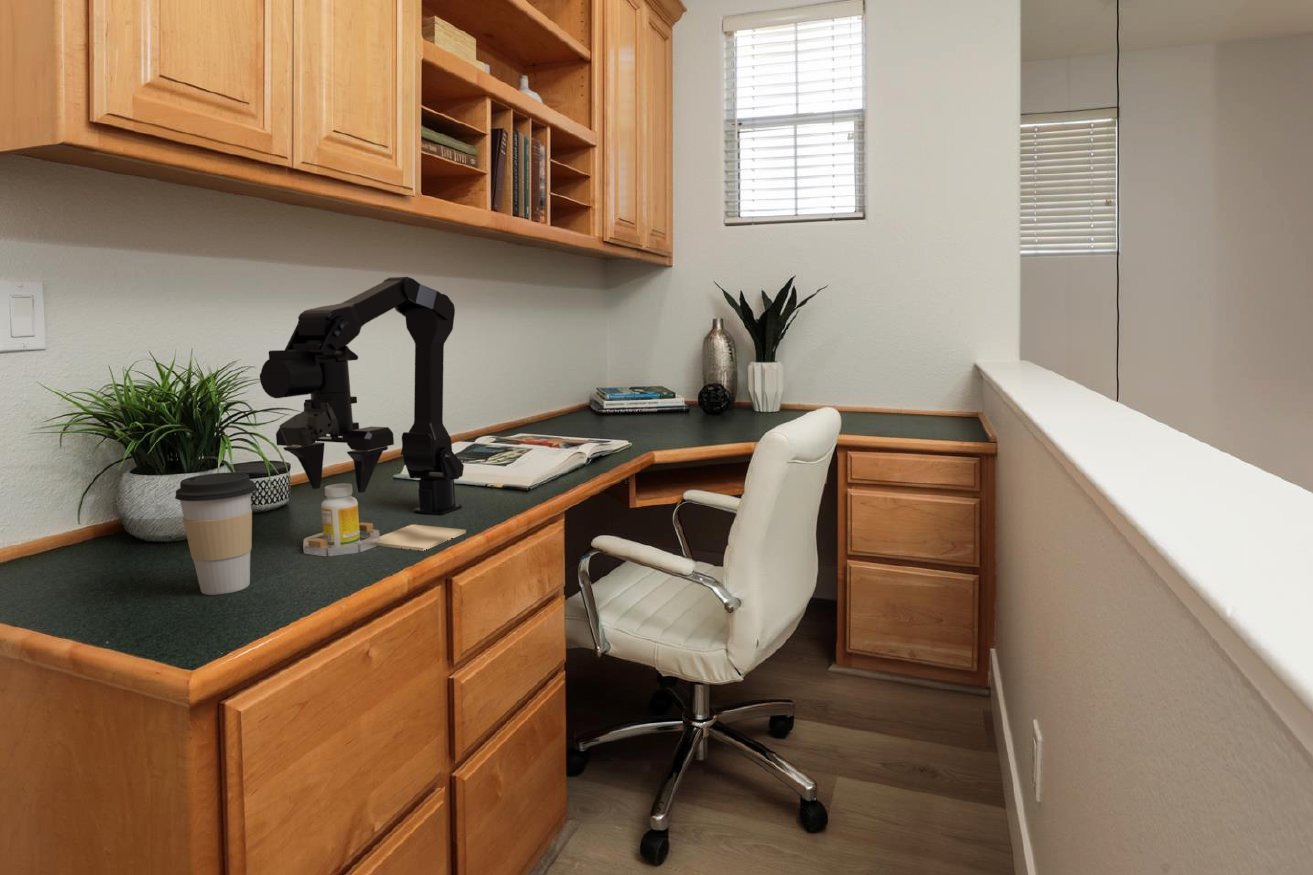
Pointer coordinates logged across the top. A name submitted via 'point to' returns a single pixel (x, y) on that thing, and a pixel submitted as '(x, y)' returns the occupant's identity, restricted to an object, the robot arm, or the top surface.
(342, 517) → the supplement bottle
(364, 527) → the grey octagonal ring
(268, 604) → the top surface
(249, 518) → the coffee cup
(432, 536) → the coaster
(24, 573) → the top surface
